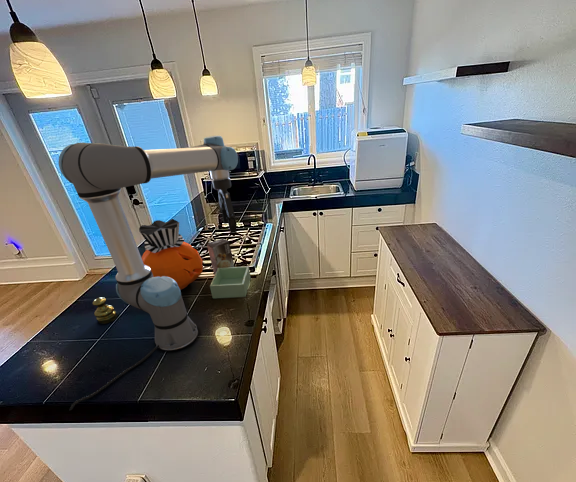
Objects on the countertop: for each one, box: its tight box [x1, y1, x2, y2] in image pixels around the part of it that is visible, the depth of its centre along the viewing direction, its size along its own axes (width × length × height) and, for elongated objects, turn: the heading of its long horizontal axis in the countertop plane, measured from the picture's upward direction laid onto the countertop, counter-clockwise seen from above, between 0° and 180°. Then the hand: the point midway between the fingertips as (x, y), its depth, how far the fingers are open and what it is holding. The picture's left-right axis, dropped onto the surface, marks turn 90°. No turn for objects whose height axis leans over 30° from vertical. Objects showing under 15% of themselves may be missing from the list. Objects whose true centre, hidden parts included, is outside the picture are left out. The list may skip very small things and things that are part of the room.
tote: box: [209, 265, 252, 299], centre depth 142 cm, size 17×15×6 cm
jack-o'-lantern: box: [138, 218, 204, 291], centre depth 142 cm, size 27×26×30 cm
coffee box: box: [206, 238, 236, 275], centre depth 152 cm, size 9×6×16 cm
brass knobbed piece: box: [92, 297, 118, 325], centre depth 127 cm, size 7×7×10 cm
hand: (230, 227), depth 142 cm, fingers open, 13 cm apart
